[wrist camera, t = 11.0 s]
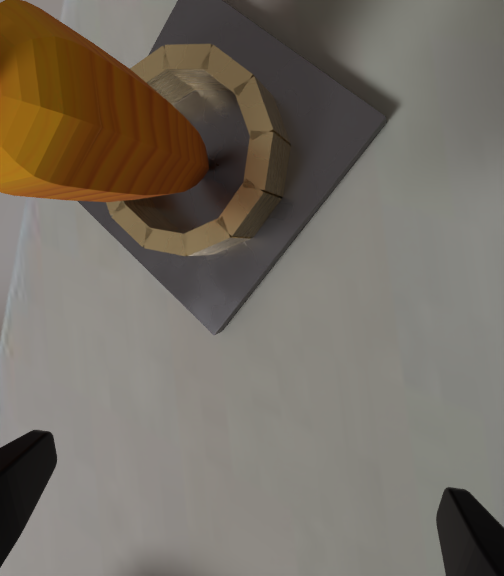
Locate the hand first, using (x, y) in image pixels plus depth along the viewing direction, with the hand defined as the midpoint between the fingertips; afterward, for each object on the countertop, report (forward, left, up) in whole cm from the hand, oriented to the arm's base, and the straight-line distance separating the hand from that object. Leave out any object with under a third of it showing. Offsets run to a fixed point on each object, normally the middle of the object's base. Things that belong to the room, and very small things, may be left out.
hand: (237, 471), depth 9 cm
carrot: (+11, -3, -11) cm, 15 cm away
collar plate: (+11, -3, -11) cm, 16 cm away
